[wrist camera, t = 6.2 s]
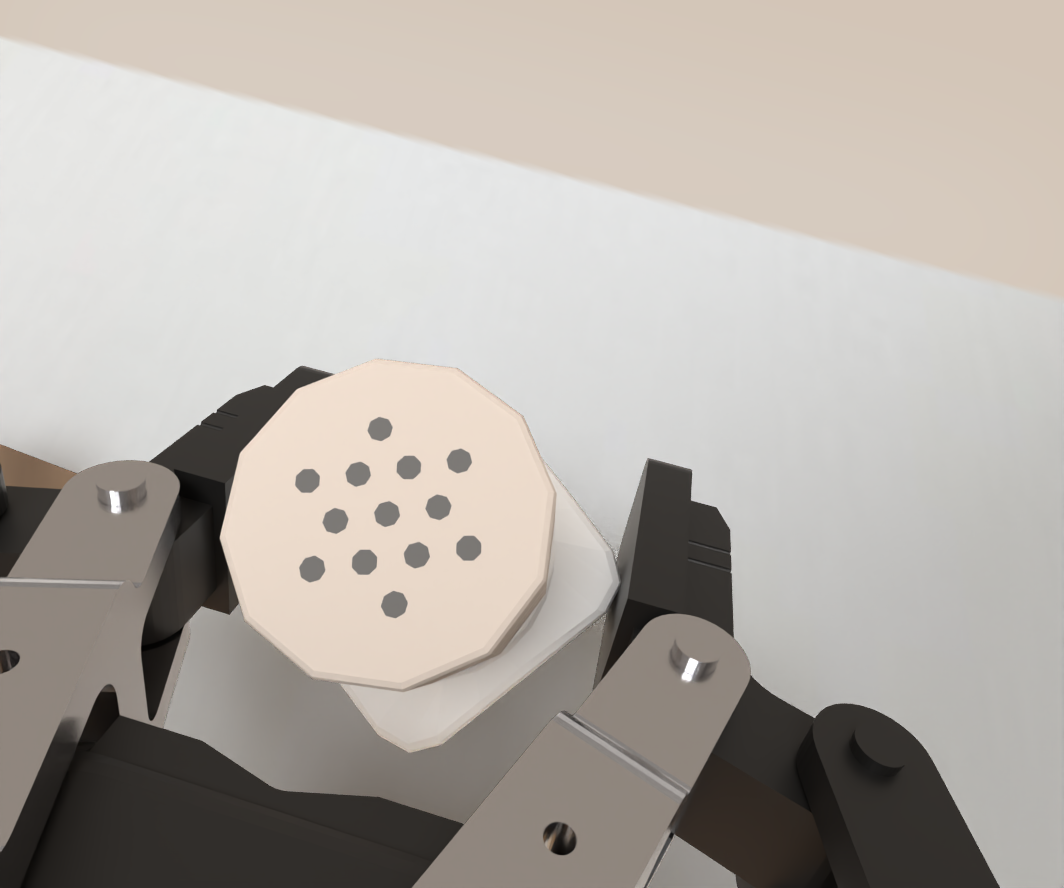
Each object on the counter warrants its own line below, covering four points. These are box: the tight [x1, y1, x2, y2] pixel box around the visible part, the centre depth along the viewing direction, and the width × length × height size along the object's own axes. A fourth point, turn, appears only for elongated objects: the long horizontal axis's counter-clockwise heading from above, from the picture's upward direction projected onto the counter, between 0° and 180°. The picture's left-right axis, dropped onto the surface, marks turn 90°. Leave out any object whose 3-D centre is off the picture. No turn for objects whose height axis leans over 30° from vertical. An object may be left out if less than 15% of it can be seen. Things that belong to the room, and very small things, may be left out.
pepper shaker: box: [220, 359, 621, 753], centre depth 12 cm, size 4×4×10 cm
